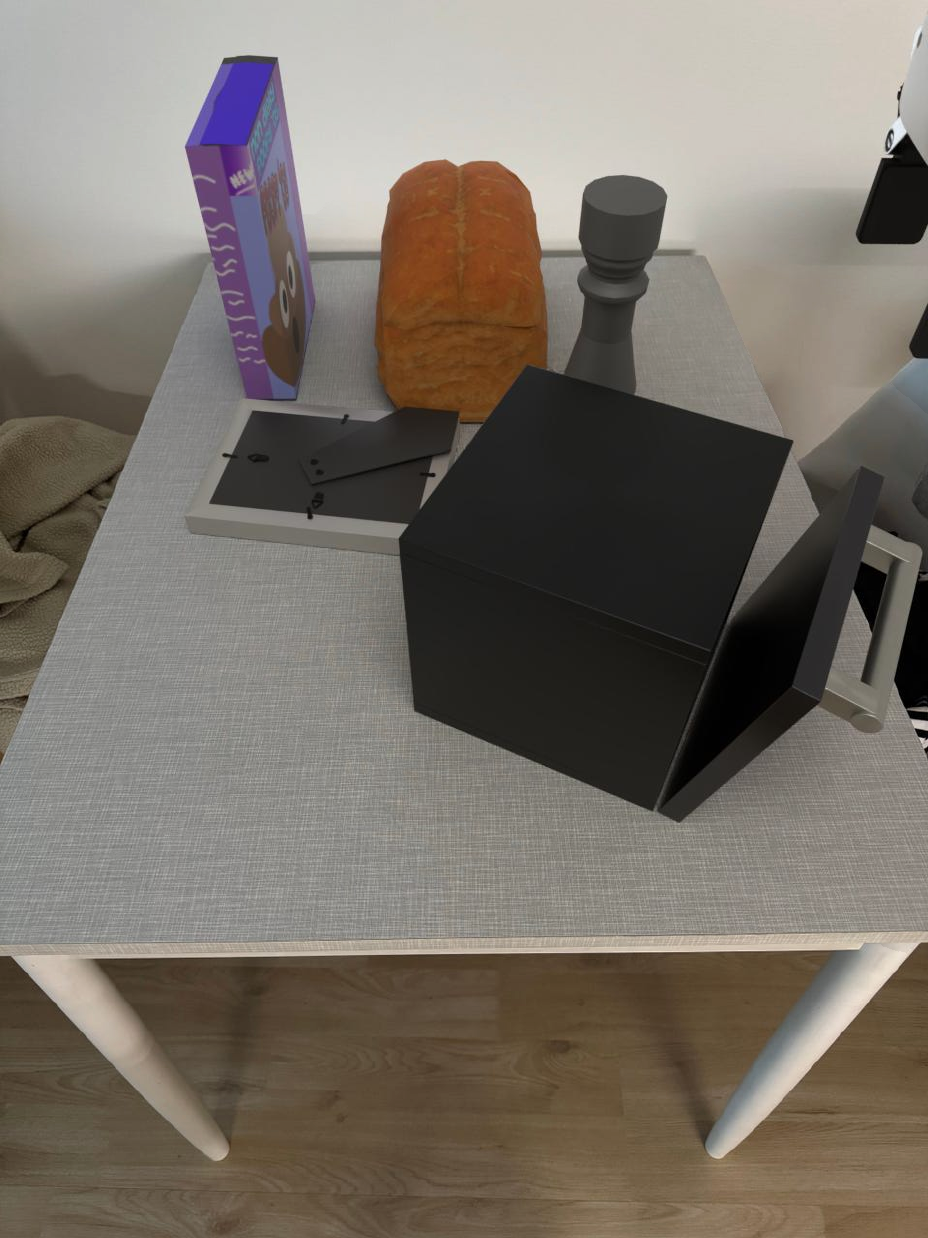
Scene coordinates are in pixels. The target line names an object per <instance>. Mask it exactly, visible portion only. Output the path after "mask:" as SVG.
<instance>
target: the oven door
mask: <svg viewBox="0 0 928 1238" xmlns="http://www.w3.org/2000/svg"><path fill="white" fill-rule="evenodd" d="M885 478H886V477H885V476H884V475H882V474H880V473H878V472H875V471H874V470H872V469H870V468H868V467H866V466H864V465H859V467H858V468H857V469H856V470H855V472H853V474H852V475H851V476H850V478H849V479H848V480H847V481H846V482H845V483H844V485H843V486H842V487H841V488H840V489H839V490H838V492H837V493H836V494H835V495H834V496H833V497H832V499H831V500H830V501H829V502H828V504H827V505H826V506H825V507H824V508H823V510H822V511H821V512H820V513H819V515H818V516H817V517H816V518H815V519H814V521H813V522H811V524H810V525H809V526H808V528H807V529H806V530H805V531H804V533H802V535H801V536H800V537H799V538H798V539H797V541H796V542H795V543H794V544H793V545H792V546H791V548H790V549H789V550H788V551H787V552H786V554H785V555H784V556H783V557H782V558H781V559H780V561H779V562H778V563H777V564H776V565H775V567H774V568H773V569H772V570H771V572H770V573H769V574H768V575H767V576H766V578H764V580H763V581H762V583H760V584H759V586H758V587H757V588H756V589H755V591H754V592H753V593H752V594H751V595H750V597H749V598H748V599H747V600H746V602H745V603H744V604H743V605H742V606H741V607H740V609H739V610H738V611H737V612H736V613H735V614H734V616H733V617H732V618H731V620H730V622H729V625H728V628H727V631H726V633H725V635H724V637H723V641H722V642H721V643H722V644H721V646H720V649H719V651H718V654H717V656H716V659H715V662H714V663H713V667H712V668H711V672H710V675H709V677H708V680H707V682H706V685H705V687H704V690H703V692H702V695H701V698H700V701H699V703H698V706H697V708H696V711H695V712H694V713H695V714H694V716H693V718H692V722H691V723H690V727H689V729H688V732H687V734H686V736H685V740H684V743H683V744H682V745H683V746H682V748H681V750H680V753H679V755H678V758H677V761H676V763H675V765H674V768H673V770H672V773H671V776H670V778H669V781H668V784H667V787H666V789H665V792H664V794H663V797H662V799H661V802H660V804H659V807H658V812H659V813H660V814H663V815H664V816H666V817H667V818H669V819H672V820H673V821H675V822H677V823H679V824H680V823H681V822H682V821H683V820H685V819H686V818H687V817H689V815H690V814H691V813H693V812H695V810H696V809H697V808H699V807H700V806H701V805H702V804H703V803H704V802H706V801H707V800H708V799H709V798H710V797H712V796H713V795H714V794H715V793H717V791H718V790H720V789H721V788H722V787H723V786H724V785H726V784H727V783H728V782H729V781H730V780H731V779H733V778H734V777H735V776H736V775H737V774H739V772H741V771H742V770H743V769H744V768H745V767H747V766H748V765H749V764H750V763H751V762H752V761H754V760H755V759H756V758H757V757H759V756H760V755H761V754H762V753H763V752H764V751H765V750H767V749H768V748H769V747H770V746H771V745H772V744H773V743H775V742H776V741H777V740H779V738H780V737H782V736H783V735H784V734H786V733H787V732H788V731H789V730H790V729H791V728H792V727H794V725H796V724H797V723H798V722H799V721H800V720H802V719H803V718H804V717H805V716H806V715H807V714H809V713H810V712H811V711H812V710H814V709H815V708H816V707H819V708H821V709H823V710H825V711H827V712H828V713H830V714H832V715H834V716H836V717H838V718H840V719H841V720H843V721H845V722H848V723H849V724H851V726H852V727H853V728H854V729H855V730H857V731H858V732H862V733H864V734H877V733H880V732H881V731H883V729H884V726H885V720H886V716H887V713H888V707H889V705H890V704H889V703H890V699H891V695H892V691H893V687H894V686H893V685H894V681H895V676H896V672H897V668H898V663H899V660H900V654H901V650H902V646H903V641H904V637H905V633H906V628H907V624H908V619H909V615H910V611H911V606H912V602H913V597H914V593H915V589H916V584H917V580H918V576H919V570H920V566H921V562H922V557H923V549H922V548H921V546H920V545H918V544H917V543H914V542H910V541H905V540H903V539H901V538H899V537H897V536H895V535H893V534H891V533H889V532H887V531H885V530H883V529H881V528H879V527H877V526H875V525H873V520H874V517H875V513H876V510H877V506H878V502H879V499H880V496H881V493H882V489H883V486H884V481H885ZM861 563H864V564H866V565H868V566H870V567H872V568H874V569H876V570H878V571H880V572H882V573H883V574H886V579H885V582H884V585H883V588H882V589H883V590H882V593H881V598H880V600H879V601H880V602H879V606H878V609H877V613H876V617H875V620H874V625H873V629H872V633H871V636H870V641H869V644H868V649H867V653H866V656H865V660H864V663H863V664H864V665H863V668H862V673H861V676H860V679H858V678H855V677H854V676H852V675H849V674H848V673H846V672H844V671H842V670H840V669H838V668H836V667H834V666H832V665H833V662H834V658H835V654H836V651H837V647H838V644H839V640H840V638H841V633H842V630H843V626H844V622H845V619H846V616H847V612H848V609H849V605H850V603H851V602H850V601H851V598H852V594H853V591H854V587H855V584H856V581H857V577H858V573H859V569H860V566H861Z"/></svg>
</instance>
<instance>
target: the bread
mask: <svg viewBox="0 0 928 1238" xmlns="http://www.w3.org/2000/svg"><path fill="white" fill-rule="evenodd" d="M388 195H389V199H388V200H389V201H388V202H387V206H386V214H385V219H384V224H383V227H382V228H383V229H382V232H381V239H380V265H379V275H378V276H379V277H378V287H377V298H376V305H375V325H374V339H373V341H374V342H373V346H374V347H375V349H376V350H377V364H376V371H377V377H378V381H379V382H380V384H381V386H382V387H383V389H384V390H385V392H386V393H387V396H388V397H389V398H390V400H391V401H392V403H393V405H394V406H395V408H396V409H397V410H399V409H401V408H403V407H416V408H428V409H439V410H450V411H459V418H460V423H484V422H485V420H486V419H487V418H488V416H489V415H490V414H491V412H492V411H493V410H494V408H495V407H496V405H497V404H498V403H499V401H500V400H501V399H502V397H503V396H504V395H505V393H506V392H507V391H508V389H509V388H510V386H511V385H512V384H513V382H514V381H515V380H516V378H517V377H518V376H519V374H520V373H521V372H522V370H523V369H524V368H525V366H526V365H527V364H528V365H531V366H535V367H538V368H542V369H545V370H548V368H547V367H548V365H547V364H548V345H549V334H548V333H549V332H548V331H549V330H548V329H549V327H548V308H547V301H546V300H547V298H546V289H545V288H546V287H545V285H544V276H543V272H542V269H541V261H542V257H543V251H542V246H541V241H540V236H539V233H538V224H537V214H536V212H535V209H534V205H533V200H532V195H531V191H530V190H529V189H528V187H527V186H526V185H525V184H524V183H523V181H522V179H521V178H520V177H519V176H518V175H517V173H515V172H513V171H511V170H510V169H509V168H508V167H506V166H505V165H503V164H502V163H500V162H499V161H497V160H472V161H471V160H470V161H468V162H466V163H463V164H461V165H459V166H458V165H457V164H455V163H454V162H452V161H449V160H448V159H447V158H444V159H437V160H426V161H424V162H422V163H420V164H418V165H416V166H414V167H412V168H410V169H409V170H406V171H405V172H402V174H401V175H400V177H398V179H397V180H396V182H395V183H394V184H393V185H392V186H391V187H390V188H389V190H388Z"/></svg>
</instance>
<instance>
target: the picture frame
mask: <svg viewBox="0 0 928 1238" xmlns="http://www.w3.org/2000/svg"><path fill="white" fill-rule="evenodd" d="M460 425H461V422H460V418H459V411H450V410H439V409H428V408H416V407H403V408H401V409H399V410H398V409H397V410H396V411H387V410H378V409H365V408H354V407H344V406H342V407H341V406H334V405H333V406H332V405H324V404H323V405H321V404H311V403H299V402H290V401H268V400H257V399H247V398H246V397H245V398H244V397H242V398H240V400H239V402H238V405H237V406H236V409H235V411H234V412H233V415H232V417H231V419H230V421H229V423H228V425H227V427H226V429H225V431H224V433H223V435H222V438H221V439H220V441H219V443H218V445H217V447H216V450H215V452H214V454H213V456H212V458H211V460H210V462H209V464H208V466H207V468H206V470H205V472H204V474H203V477H202V478H201V481H200V483H199V485H198V486H197V489H196V491H195V493H194V495H193V497H192V499H191V501H190V503H189V505H188V507H187V508H186V510H185V513H184V515H183V517H184V520H185V522H186V525H187V528H188V530H189V533H190V534H196V535H197V534H198V535H206V536H215V537H225V538H235V539H244V540H253V541H261V542H272V543H279V544H280V543H281V544H290V545H297V546H309V547H318V548H326V549H336V550H346V551H354V552H355V551H356V552H364V553H365V552H366V553H374V554H384V555H393V556H400V550H399V537H400V536H401V534H402V533H403V531H404V530H405V529H406V527H407V526H408V525H409V523H410V522H411V521H412V519H413V518H414V517H415V515H416V514H417V513H418V511H419V510H420V508H421V507H422V506H423V504H424V503H425V502H426V500H427V499H428V498H429V496H430V495H431V494H432V492H433V491H434V489H435V488H436V487H437V485H438V484H439V483H440V481H441V480H442V479H443V477H444V476H445V475H446V473H447V472H448V471H449V469H450V468H451V466H452V465H453V464H454V462H455V459H456V453H457V449H458V445H459V440H460V437H461V431H460V430H461V427H460Z"/></svg>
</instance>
